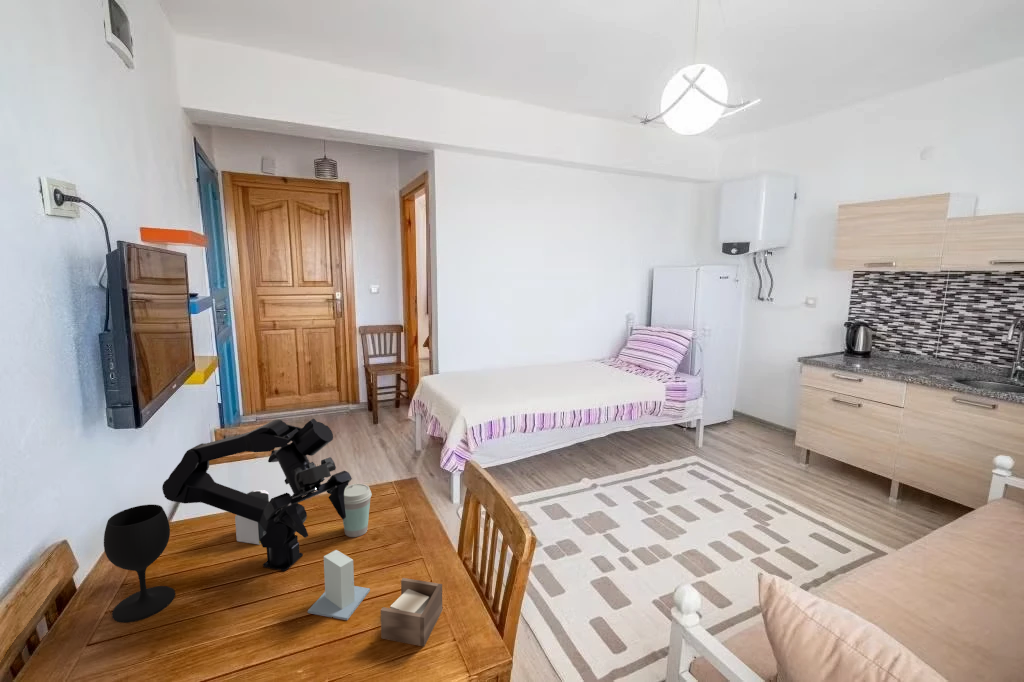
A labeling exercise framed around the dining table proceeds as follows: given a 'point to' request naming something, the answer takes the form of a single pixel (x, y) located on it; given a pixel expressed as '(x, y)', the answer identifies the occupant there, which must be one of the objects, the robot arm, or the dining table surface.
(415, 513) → the dining table surface
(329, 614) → the mat
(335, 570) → the pale grey rectangular block
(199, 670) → the dining table surface
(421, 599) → the offcut stack
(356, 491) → the coffee cup
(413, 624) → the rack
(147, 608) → the wine glass
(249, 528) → the medicine bottle
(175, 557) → the dining table surface
